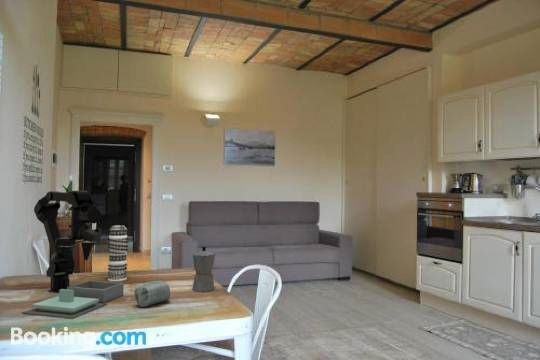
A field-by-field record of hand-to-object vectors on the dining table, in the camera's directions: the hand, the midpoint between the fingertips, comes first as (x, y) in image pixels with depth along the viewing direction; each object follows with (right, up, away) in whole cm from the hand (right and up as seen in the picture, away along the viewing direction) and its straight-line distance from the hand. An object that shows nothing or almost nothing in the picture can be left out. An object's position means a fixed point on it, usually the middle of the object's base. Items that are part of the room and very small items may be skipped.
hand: (78, 261), depth 162 cm
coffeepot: (+48, -14, +12) cm, 51 cm away
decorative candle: (+5, -14, +29) cm, 33 cm away
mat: (+5, -12, -20) cm, 24 cm away
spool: (+33, -13, -12) cm, 38 cm away
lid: (+5, -12, -20) cm, 24 cm away
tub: (+9, -13, -5) cm, 17 cm away
